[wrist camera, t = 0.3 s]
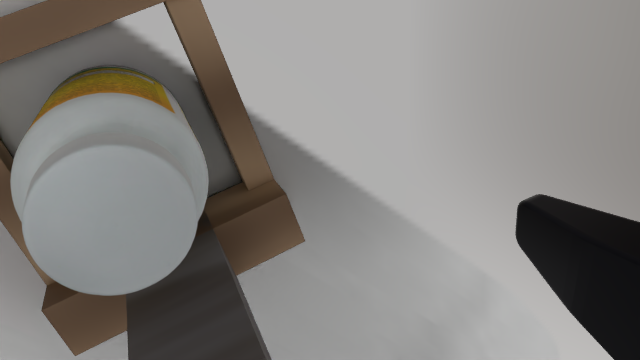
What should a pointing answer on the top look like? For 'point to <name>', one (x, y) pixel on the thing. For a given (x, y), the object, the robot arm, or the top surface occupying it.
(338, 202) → the top surface
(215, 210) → the wooden display stand
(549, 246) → the robot arm
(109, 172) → the supplement bottle
